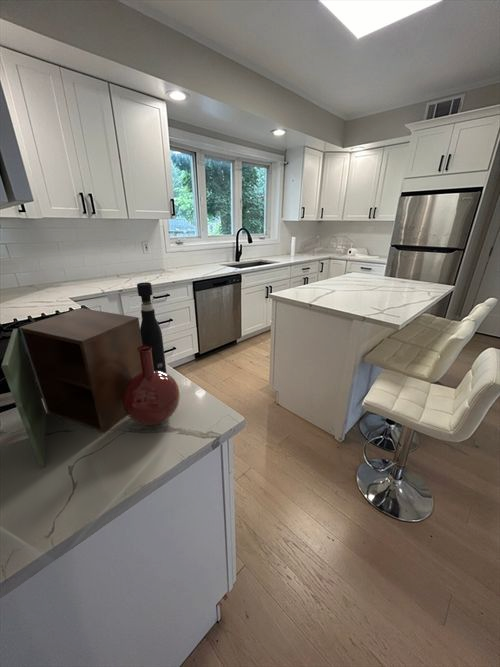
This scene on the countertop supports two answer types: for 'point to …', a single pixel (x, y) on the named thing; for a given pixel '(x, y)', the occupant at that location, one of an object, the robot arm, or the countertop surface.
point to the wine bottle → (151, 327)
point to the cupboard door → (23, 399)
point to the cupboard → (84, 364)
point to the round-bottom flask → (150, 393)
